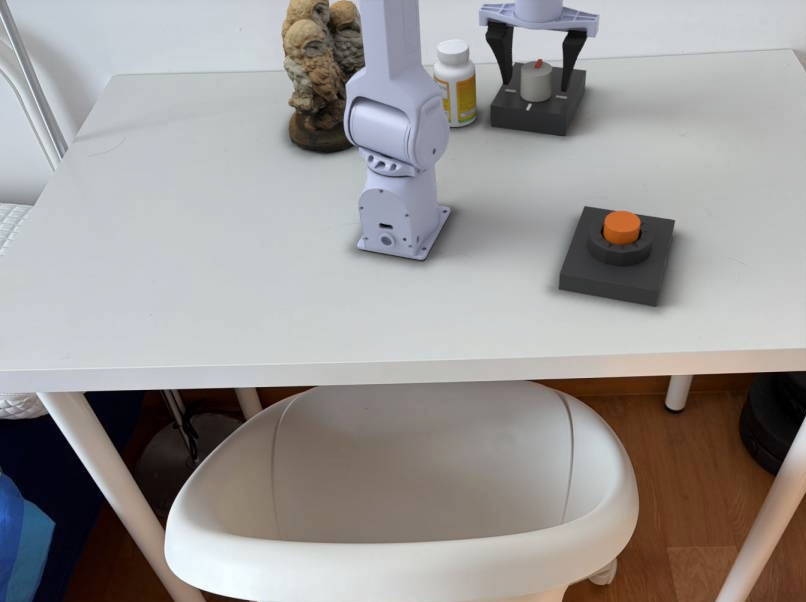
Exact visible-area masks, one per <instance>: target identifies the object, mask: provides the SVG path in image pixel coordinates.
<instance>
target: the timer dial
mask: <svg viewBox="0 0 806 602" xmlns="http://www.w3.org/2000/svg"><path fill="white" fill-rule="evenodd" d="M524 63H525V64H524V65H522V67H521V87H520V95H521V97H522V98H523V99H525V100H527V101H531V102H540V101H544V100H547V99H548V98H550V96H551V88H552V65H551V64H550V63H548V62H546V61H543V58H538V59H537V60H532V61H528V62H524Z"/></svg>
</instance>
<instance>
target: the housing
mask: <svg viewBox="0 0 806 602" xmlns="http://www.w3.org/2000/svg"><path fill="white" fill-rule="evenodd" d="M615 211H616V210H614V209H606V208H600V207H593V206H588V205H584V206H583V209H582V212H581V215H580V217H579V220H578V221H577V225H576V228H575V229H574V230H575V231H574V232H573V235H572V239H571V241H570V245H569V247H568V249H567V253H566V254H565V255H566V256H565V257H564V260H563V263H562V266H561V269H560V272H559V276H558V277H559V278H558V290H560V291H566V292H572V293H578V294H583V295H587V296H593V297H598V298H604V299H610V300H615V301H621V302H626V303H631V304H636V305H643V306H648V307H654V308H655V307H657V302H658V300H659V299H658V298H659V295H660V289H661V287H662V286H661V285H662V281H663V277H664V273H665V268H666V264H667V261H668V256H669V251H670V247H671V243H672V239H673V234H674V230H675V224H676V220H675V219H671V218H665V217H659V216H652V215H645V214H638V213H634V214H635V215H636V216H638V218H639V219H640V230H639V236H638V239H637V240H636V241H635V242H634V243H632V244H627V245H619V244H612V243H611V242H609V241H607V240H606V239H605V237H604V235H603V232H604V223H605V218H606V217H607V215H609V214H610V213H612V212H615Z"/></svg>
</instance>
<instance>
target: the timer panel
mask: <svg viewBox="0 0 806 602" xmlns="http://www.w3.org/2000/svg"><path fill="white" fill-rule="evenodd" d="M525 63H526V62H516V61H515V62H514V63H513V73H512V79H511V81H510V82H509V84H508V85H503V83H502V84H501V86H500V87H499V90H498V91H497V93H496V94H495V97H494V98H493V100H492V101H491V103H490V105H489V107H490V108H489V109H490V110H489V111H490V113H489V114H490V127H493V128H494V127H495V128H501V129H510V130H516V131H524V132H530V133H538V134H544V135H553V136H560V137H566V136H567V133H568V131H569V129H570V126H571V123H572V122H573V119H574V117H575V115H576V112H577V110H578V108H579V105H580V104H581V101H582V98H583V96H584V94H585V92H586V91H585V90H586V82H587V81H586V79H587V70H586V69H578V68H574V69H573V72H572V76H571V80H570V86H569V88H568V90H567V92H561V80H562V72H563V67H561V66H552V65H551V66H552V88H551V96H550V98H548V99H547V100H544V101H540V102H531V101H527V100H525V99H523V98H522V97H521V95H520V87H521V67H522V65H524V64H525Z"/></svg>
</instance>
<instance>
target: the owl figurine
mask: <svg viewBox="0 0 806 602" xmlns="http://www.w3.org/2000/svg"><path fill="white" fill-rule="evenodd" d="M280 35H281V38H282V39H281V40H282V48H283V52H284V60H283V69H284V70H285V71H286V74H287V76H288V78H289V79H290V81H291V82H292V84H293V88H294V91H293V92H292V94H291V97H290V98H289V99H288V101H287V104H288V106H290V107H291V108H294V110H295V111H294V113H293V114H292V116H291V117H290V119H289V122H288V136H289V138H290V140H291V142H292V143H293V144H295V145H296V146H297V147H298V148H299V149H300V148H302V149H309V150H314V151H315V150H316V151H319V152H327V153H329V152H336V151H341V150H344V149H345V150H346V149H348V148H350V147H352V146H354V145H353V144H352V143H351V142H350V141H349V140H348V138H347V136H346V134H345V130H344V113H345V109H346V103H347V93H346V83H347V82H348V81H349V80H350V79H351V77H352V76H353V75H354V74H355V73H357V72H358V71H359V70H361V69H362V68H364V67H365V66H366V65H365V55H364V45H363V35H362V26H361V16H360V10H359V9H358V7H357V6H356V4H355V3H354V2H353V1H350V0H338V1H336V2H334V3H332V4H331V5H330V0H289V3H288V6H287V9H286V17H285V18H284V20H283V22H282V26H281V33H280ZM320 109H321V111H320Z"/></svg>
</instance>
